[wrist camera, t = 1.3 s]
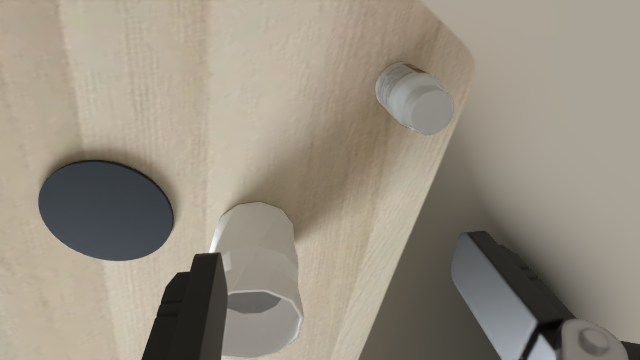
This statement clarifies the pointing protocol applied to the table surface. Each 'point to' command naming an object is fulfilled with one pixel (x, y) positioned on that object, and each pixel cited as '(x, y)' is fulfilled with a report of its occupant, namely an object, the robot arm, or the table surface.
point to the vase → (258, 280)
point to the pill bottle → (414, 98)
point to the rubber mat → (106, 210)
